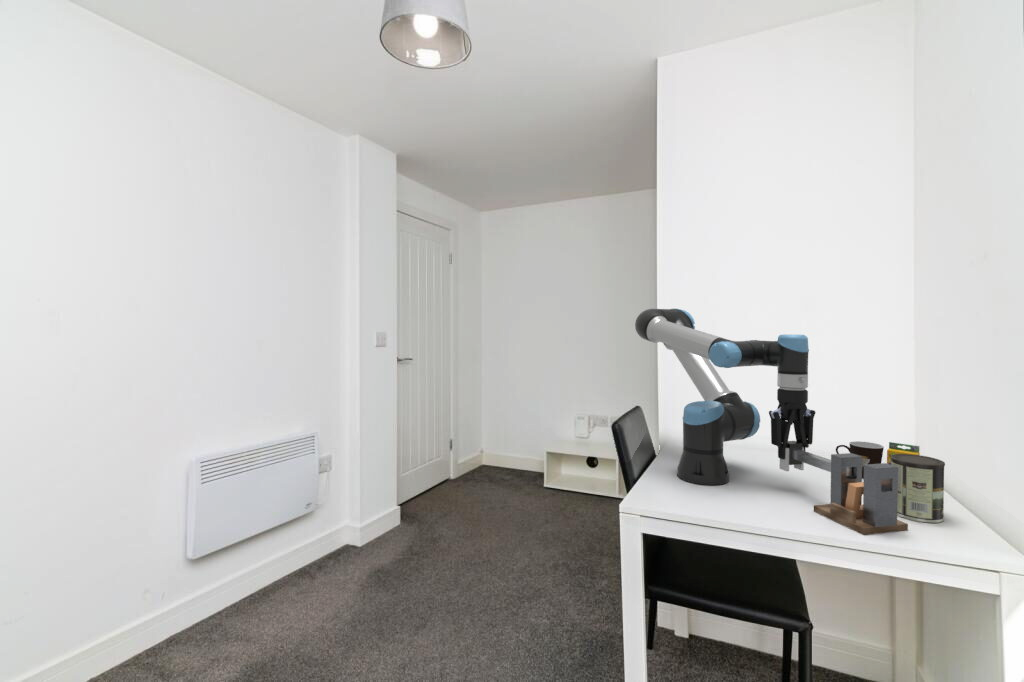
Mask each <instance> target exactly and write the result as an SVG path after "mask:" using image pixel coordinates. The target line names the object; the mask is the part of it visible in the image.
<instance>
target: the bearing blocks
mask: <svg viewBox="0 0 1024 682" xmlns="http://www.w3.org/2000/svg"><path fill="white" fill-rule="evenodd" d="M830 460H831V472H830V503H836V504H838V505H841V506H843V507H845V504H846V498H847V491H848V485H849V483H858V482H864V493H863V494H862V497H863V499H862V498H861V502H862V500H863V504H862V503H861V504H860V505H863V522H864V523H867V524H869V525H871V526H873V527H883V526H893V525H897V520H898V515H897V500H898V467H897V466H893V465H890V464H887V462H883V463H882V462H881V464H867V465H864V479H862V456H859V455H856V454H853V453H850V452H847V453H839V454H837V453H835V454H833V453H832V454H830ZM847 467H852V476H847V477H846V473H847ZM830 503H829V504H830Z"/></svg>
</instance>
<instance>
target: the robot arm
mask: <svg viewBox="0 0 1024 682" xmlns="http://www.w3.org/2000/svg"><path fill="white" fill-rule="evenodd" d="M634 325H635V331H636V334H637V335H638V336H639V337H640V338H641V339H643V340H646V341H648V342H651V343H654V344H655V343H656V344H657V343H663V345H664V347H665V349H667V350H669V351H672V352H673V353H674V355H675V356H676V358H677V360H678V361H679V362H680V364H681V365H682V368H683V369H684V370H685V372H686V374H687V375H688V378H690V380H691V381H692V383H693V385H694V386H695V387H696V389H697V390H698V393H699V394H700V395H701V397H702V399H703V400H700V401H692V402H690V403H687V404H686V405H685V406H684V408H683V414H682V415H683V416H682V437H683V438H682V444H683V446H682V454H681V457H680V459H679V462H678V465H677V467H676V468H677V469H676V471H677V475H676V476H677V477H678V478H679V479H681V480H683V481H686V482H687V483H692V484H697V485H704V486H718V485H719V486H720V485H724V484H727V483H729V481H730V471H729V469H728V466H727V462H726V460H725V456H724V442H732V441H738V440H740V441H741V440H745V439H748V438H751V437H753V436H754V435H755V434H756V433H757V432H758V430H759V428H760V423H761V415H760V413H759V410H758V408H757V407H756V406H755V405H754V404H752V403H751V402H748V401H745V400H744V401H743V399H742V398H741V396H740V395H739V393H737V391H732V390H730V389H729V387H728V386H727V385H726V383H725V381H724V380H723V379H722V377H721V376H720V375H719V372H718V371H717V370H716V368H715V367H718V368H723V369H730V368H738V367H755V366H757V367H758V366H765V367H766V366H767V367H777V379H776V380H777V383H776V384H777V385H776V386H777V387H779V388H777V393H776V394H777V395H776V396H777V397H776V399H777V401H778V406H777V409H775V410H769V411H768V414H769V415H768V416H769V417H770V433H771V434H770V438H771V439H770V441H771V444H772V445H774V446H776V447H777V458H778V459H779V469H780V470H782V471H785V472H790V465H789V448H786V447H787V443H788V441H789V438H790V431H791V428H792V427H791V426H793V429H794V434H795V435H794V436H795V441H797V442H800V443H803V446H802V451H805V452H806V448H807V449H808V448H809V446H810V445H813V440H814V437H813V436H814V433H813V432H814V418H815V415H816V410H814V409H810V408H808V407H807V403H808V402H809V401H808V400H809V390H807V388H808V387H809V351H810V349H809V338H808V336H807V335H805V334H779V335H778V337H777V340H759V339H754V340H753V339H751V340H742V341H741V340H738V341H735V340H731V339H727V338H724V337H721V336H718V335H715V334H714V335H713V334H712V333H707V332H705V331H701V330H699V329H696V326H695V320H694V317H693V316H692V315H691V314H690V312H689V311H687V310H684V309H679V308H648V309H645V310H644V311H642V312H640V313H639V314H638V316H637V317H636V319H635V324H634ZM713 365H714V366H715V367H714V366H713ZM804 464H805V463H803V462H802V464H798V465H793V468H794V469H797V470H799V471H804V466H805V465H804Z"/></svg>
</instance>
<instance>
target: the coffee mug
mask: <svg viewBox="0 0 1024 682" xmlns="http://www.w3.org/2000/svg"><path fill="white" fill-rule="evenodd" d="M848 443H849V446H847V445H844V444H839V445H838V446H836V448H835V454H840V453H839V450H838V449H840V448H845V449H847V450H848V453H853V454H856V455H859V456H862V480H864V465H867V464H881V463H882V461H883V456H884V455H883V454H884V447H885V446H884V445H882V444H879V443H874V442H869V441H860V440H859V441H856V440H855V441H854V440H853V441H850V442H848Z"/></svg>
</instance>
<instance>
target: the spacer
mask: <svg viewBox="0 0 1024 682" xmlns="http://www.w3.org/2000/svg"><path fill="white" fill-rule="evenodd" d="M863 493H864V481H862V482H858V483H849V485H848V491H847V498H846V504H845V508H848V509H850V510H852V511H855V512H856V518H862V517H863V504H862V501H861V498H862V497H863ZM860 504H861V505H860Z"/></svg>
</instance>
